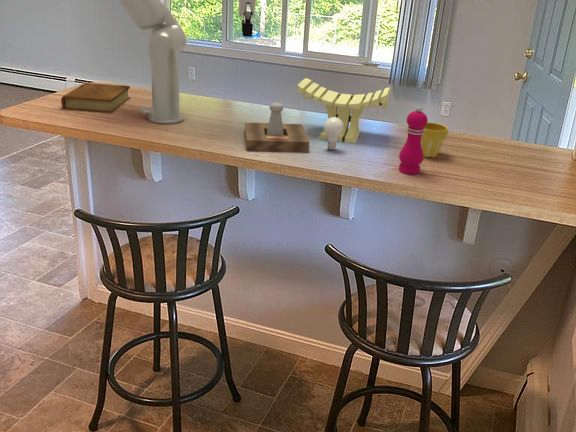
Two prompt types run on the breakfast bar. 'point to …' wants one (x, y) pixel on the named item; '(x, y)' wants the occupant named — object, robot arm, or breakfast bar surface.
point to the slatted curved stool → (343, 106)
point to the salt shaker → (275, 120)
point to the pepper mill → (413, 143)
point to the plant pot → (433, 138)
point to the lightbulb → (333, 131)
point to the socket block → (276, 138)
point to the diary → (96, 98)
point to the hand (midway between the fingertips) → (246, 34)
